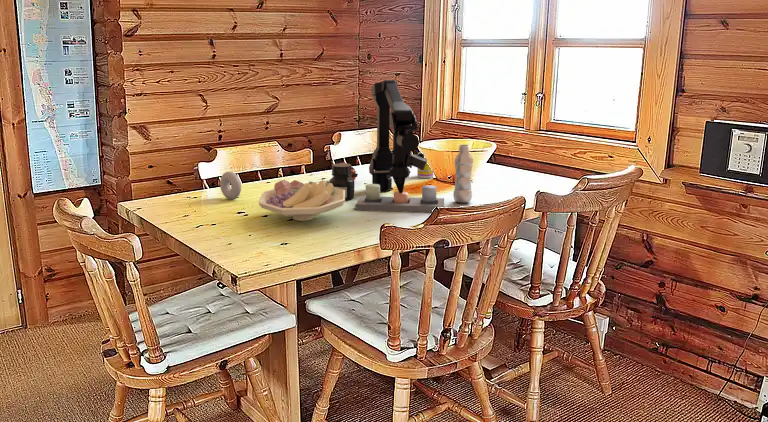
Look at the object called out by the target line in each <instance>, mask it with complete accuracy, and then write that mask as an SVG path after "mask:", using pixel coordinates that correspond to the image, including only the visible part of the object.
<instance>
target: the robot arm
mask: <svg viewBox="0 0 768 422" xmlns="http://www.w3.org/2000/svg"><path fill="white" fill-rule="evenodd" d="M398 86H399V85H398V81H397V80H395V79H384V80H382V81H379V82H375V83H374V84H372V85H371V88H370V89H371V90H370V91H371V92H370V93H371V95H372V100H373V102H374V104H375V105H376V108H377V109H376V112H377V113H376V116H377V117H376V121H377V122H376V147H375V149H374V151H373V152H372V157H371V159H370V162H369V166H368V172H369V174H370V175H371V177H372V179H371V181H372V183H371V184H379V185H380V193H382V192H383V193H386V192H388V191H391V190H393V185H392V184H393V181H394V184H395V186H396V188H397V191H399V193H403V191H404V187H405V182H406V179H407V178H409V177H410V174H411V172H412V171H411V170H410V169H412V168H413V167H414V168H417V169H418V168H419V169H420V170H424V167H425V165H426V162H427V159H426V158H424V154H422V153H419V152H418V153H419V154H418V153H417V154H413V153H412V152H415V151H416V149H418V147H419V143H420V140H419V138H418V136H417V135H416V134H414V132H416V131H417V130H418V129H417V128H418V122H417V118H416V115H415V113H414V111H413V110H412V107H410V105H408V104H407V103H405V102H404V99H403V97H402V94H401V91H400V90H399V89H400V88H399V87H398ZM390 127H391V130H392V150H391V149H390Z"/></svg>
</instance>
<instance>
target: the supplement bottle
mask: <svg viewBox="0 0 768 422" xmlns="http://www.w3.org/2000/svg"><path fill="white" fill-rule="evenodd" d="M421 146H424V147H429V148H432V149H433V146H432V145H427V144H424V145H423V144H422V145H420V147H421ZM419 153H421V151H419V152H418V153H417V155H418V154H419ZM416 173H417V175H416V176H417V177H418V178H420V179H433V177H434V176H435V175H434V174H433V171H432V170H431V168H430V167H429V165H428V164H427V162H426V165H425V167H424V170H420V169H419V168H417V172H416Z"/></svg>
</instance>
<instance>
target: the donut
mask: <svg viewBox="0 0 768 422" xmlns="http://www.w3.org/2000/svg"><path fill="white" fill-rule="evenodd" d="M219 186H220V190H221V193H222V195H223V196H224V197H225V198H226V199H228V200H236V199H237V198H238V197H239V196H240V194H241V191H242V183H241V180H240V178H239V176H238V175H237V174H236V173H235V172H233V171H226V172H224V173H222V175H221V177H220V180H219Z"/></svg>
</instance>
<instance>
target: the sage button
mask: <svg viewBox="0 0 768 422" xmlns="http://www.w3.org/2000/svg"><path fill="white" fill-rule="evenodd" d="M365 196H366V199H369V200H377V199H380V197H381V192H380V185H379V184H372V183H368V184H365Z"/></svg>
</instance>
